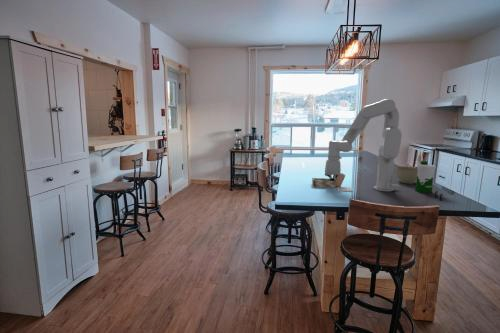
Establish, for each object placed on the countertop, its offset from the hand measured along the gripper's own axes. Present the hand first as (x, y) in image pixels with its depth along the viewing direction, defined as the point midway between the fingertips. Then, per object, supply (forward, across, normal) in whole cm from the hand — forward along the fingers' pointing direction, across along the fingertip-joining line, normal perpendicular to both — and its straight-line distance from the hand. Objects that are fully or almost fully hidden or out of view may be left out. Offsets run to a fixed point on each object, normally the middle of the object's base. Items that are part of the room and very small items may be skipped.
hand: (331, 184), depth 206 cm
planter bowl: (+1, -59, -20) cm, 62 cm away
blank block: (+1, -3, 0) cm, 3 cm away
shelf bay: (+2, +6, 0) cm, 6 cm away
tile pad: (+1, -7, +9) cm, 11 cm away
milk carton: (+1, -59, +6) cm, 59 cm away
